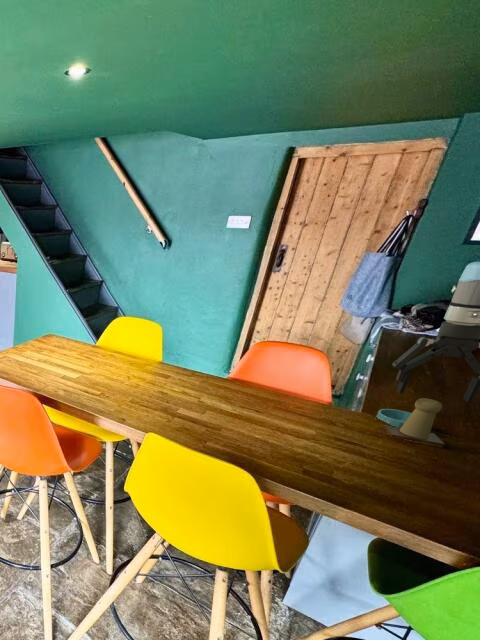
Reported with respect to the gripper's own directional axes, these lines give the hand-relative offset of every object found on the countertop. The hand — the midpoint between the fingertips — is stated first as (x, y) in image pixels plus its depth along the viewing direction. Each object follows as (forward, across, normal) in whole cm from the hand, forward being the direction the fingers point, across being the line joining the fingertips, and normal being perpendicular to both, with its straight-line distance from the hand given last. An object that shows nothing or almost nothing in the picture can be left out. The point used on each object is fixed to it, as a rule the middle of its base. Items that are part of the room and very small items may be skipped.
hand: (432, 396), depth 114 cm
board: (+14, 0, 0) cm, 14 cm away
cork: (+12, 0, 0) cm, 12 cm away
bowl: (+14, 0, +10) cm, 17 cm away
